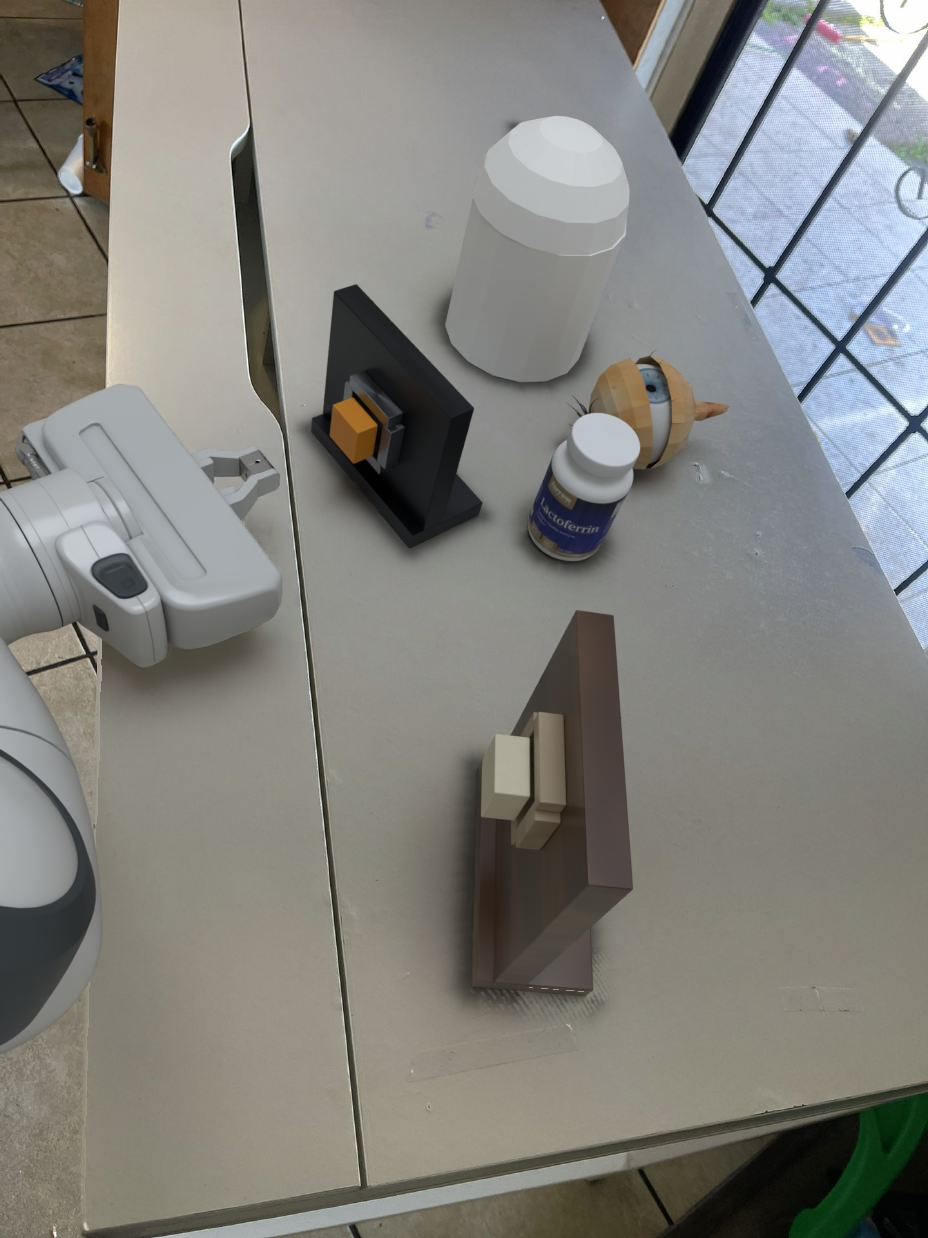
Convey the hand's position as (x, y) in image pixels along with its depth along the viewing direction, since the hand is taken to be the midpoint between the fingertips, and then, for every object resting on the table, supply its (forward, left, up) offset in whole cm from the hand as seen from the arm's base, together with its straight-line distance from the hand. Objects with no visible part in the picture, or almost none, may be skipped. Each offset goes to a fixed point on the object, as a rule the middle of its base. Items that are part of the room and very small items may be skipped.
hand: (268, 466), depth 64 cm
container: (+32, +9, -7) cm, 34 cm away
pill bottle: (+20, -12, -7) cm, 25 cm away
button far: (+7, 0, -2) cm, 7 cm away
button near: (-4, -29, +5) cm, 30 cm away
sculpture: (+32, -8, -7) cm, 34 cm away
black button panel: (+12, 0, -7) cm, 14 cm away
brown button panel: (0, -32, -7) cm, 32 cm away
